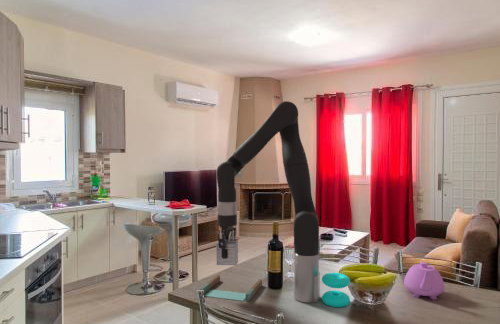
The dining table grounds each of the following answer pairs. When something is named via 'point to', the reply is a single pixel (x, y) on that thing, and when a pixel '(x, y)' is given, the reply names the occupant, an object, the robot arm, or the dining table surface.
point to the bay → (217, 279)
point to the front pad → (226, 295)
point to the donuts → (333, 296)
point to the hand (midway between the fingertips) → (227, 256)
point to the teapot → (424, 281)
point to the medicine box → (232, 254)
